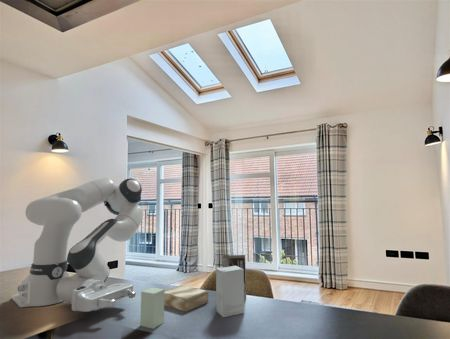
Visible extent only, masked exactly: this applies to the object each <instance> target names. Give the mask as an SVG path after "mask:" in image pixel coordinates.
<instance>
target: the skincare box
mask: <svg viewBox="0 0 450 339" xmlns="http://www.w3.org/2000/svg"><path fill="white" fill-rule="evenodd" d="M215 285H216V287H215V289H216V290H215V297H216V301H215V303H216V312H217V314H219V315H220V316H221V317H223V318H227V317H232V316H236V315H237V316H238V315H242V314H245V301H244V269H242V268H240V267H238V266H230V267H224V268H222V267H216V268H215Z"/></svg>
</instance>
